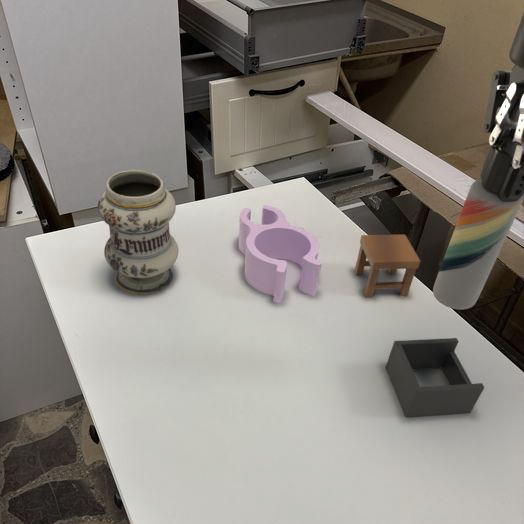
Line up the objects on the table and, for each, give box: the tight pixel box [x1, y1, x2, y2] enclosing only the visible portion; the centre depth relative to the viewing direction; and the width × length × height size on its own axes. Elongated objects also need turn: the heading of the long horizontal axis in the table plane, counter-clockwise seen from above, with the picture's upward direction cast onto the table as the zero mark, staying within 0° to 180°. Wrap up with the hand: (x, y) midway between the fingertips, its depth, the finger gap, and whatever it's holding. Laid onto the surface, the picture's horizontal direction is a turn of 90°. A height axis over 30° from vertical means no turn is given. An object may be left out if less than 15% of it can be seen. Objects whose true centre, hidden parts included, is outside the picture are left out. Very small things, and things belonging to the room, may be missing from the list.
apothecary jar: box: [97, 169, 179, 295], centre depth 85 cm, size 12×12×18 cm
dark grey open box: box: [385, 337, 485, 419], centre depth 75 cm, size 10×10×6 cm
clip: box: [238, 204, 323, 304], centre depth 93 cm, size 20×12×7 cm, turn 22°
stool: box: [354, 234, 421, 298], centre depth 91 cm, size 8×8×8 cm
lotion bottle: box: [432, 141, 524, 310], centre depth 61 cm, size 6×6×20 cm
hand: (498, 188), depth 57 cm, fingers closed on lotion bottle, 3 cm apart
